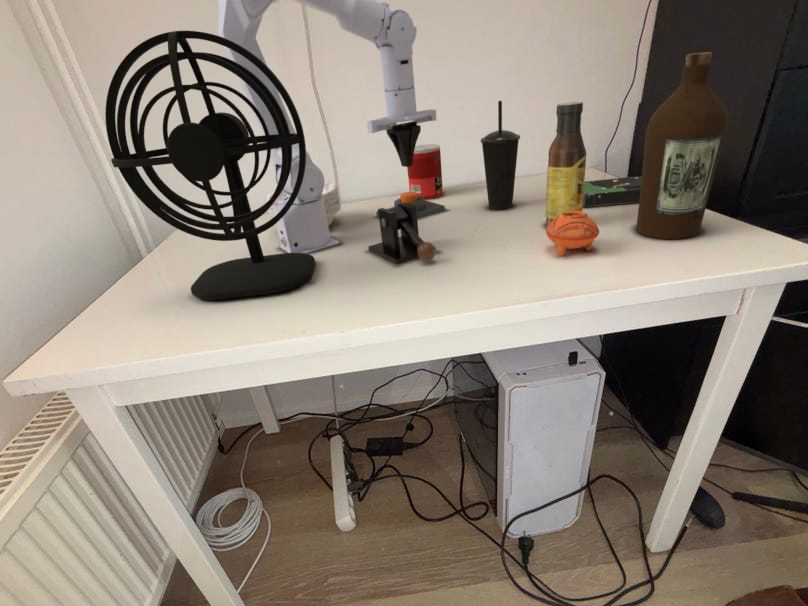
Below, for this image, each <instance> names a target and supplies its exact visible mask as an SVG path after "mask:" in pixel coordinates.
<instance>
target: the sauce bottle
mask: <svg viewBox="0 0 808 606" xmlns="http://www.w3.org/2000/svg"><path fill="white" fill-rule="evenodd" d="M583 110H584V102H583V101H569V102H563V103H558V104H557V105H556V112H555V114H556V117H557V120H556V121H557V122H556V131H555V133H556V135H555V137H554V139H553V141H551V144H550V146H549V149H548V161H547V162H548V163H547V171H546V192H545V194H546V195H545V196H546V198H545V217H546V218H545V225H546V227H547V226H548V225H549V224H550V223H551V222H552V221H553V220H554V219H555V218H557V217H559V216H561V215H562V213H563V212H564V213H565V212H569V211H581V212H583V206H582V205H583V192H584V182H585V179H586V165H587V150H586V147H585V144H584V138H583V135H582V132H581V125H582V124H581V123H582V114H583Z"/></svg>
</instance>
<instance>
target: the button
mask: <svg viewBox="0 0 808 606" xmlns="http://www.w3.org/2000/svg"><path fill="white" fill-rule="evenodd" d="M399 196H400V198H401V203H412V202H416V201H418V199H417V192H410V191H405V192H402V193H400V194H399Z"/></svg>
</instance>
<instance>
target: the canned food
mask: <svg viewBox="0 0 808 606" xmlns="http://www.w3.org/2000/svg"><path fill="white" fill-rule="evenodd" d="M441 155H442V154H441V146H440V145H439V144H436V143H430V144H429V143H428V144H419V145H415V150H414V155H413V163H412V166H409V167H406V168H407V177H408V178H407V179H408V189H409V192H417V196H420V197H424V199H425V200H426V201H428V200H433V199H436V198H439V197H441V196H442V195H443V191H444V190H443V174H442V173H443V172H442V156H441Z"/></svg>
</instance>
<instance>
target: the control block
mask: <svg viewBox="0 0 808 606" xmlns="http://www.w3.org/2000/svg"><path fill="white" fill-rule="evenodd" d="M417 199H418V201H416V202H412V203H406V204H409V205H412V206H416V211H417V220H418V219H421V218H424V217H427V216H431V215H434V214H437V213H441V212H444V211H446V207H445V205H443V204H440V203H436V202H433V201H429V200H425V199H424V197H420V196H417ZM393 203H394V206H392V207H388V208H386V209H387V210H389V209H393V208H396V207H398V204H399V203H401V197H400V198H397V199H396V200H394V201H393ZM375 212H376V214H375V215H376V217H377V218H379V214H378V210H377V211H375Z"/></svg>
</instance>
